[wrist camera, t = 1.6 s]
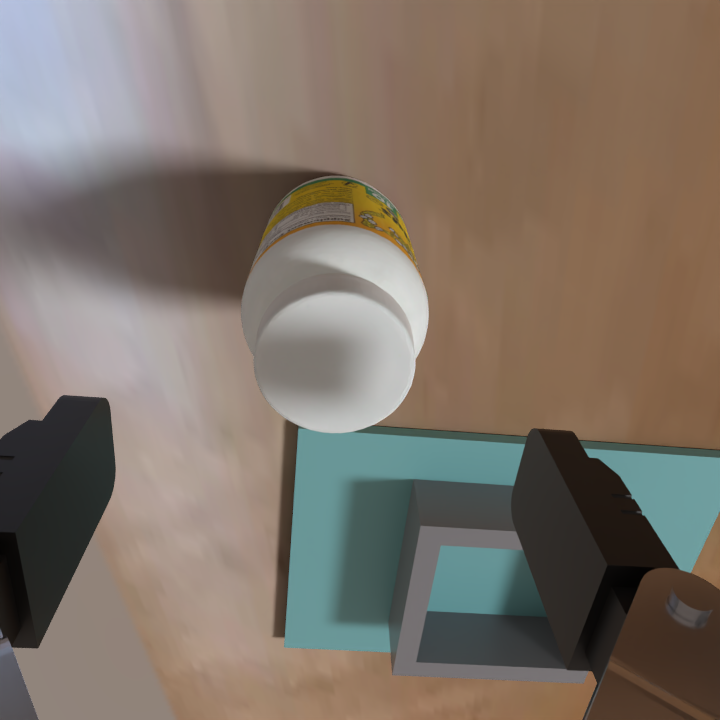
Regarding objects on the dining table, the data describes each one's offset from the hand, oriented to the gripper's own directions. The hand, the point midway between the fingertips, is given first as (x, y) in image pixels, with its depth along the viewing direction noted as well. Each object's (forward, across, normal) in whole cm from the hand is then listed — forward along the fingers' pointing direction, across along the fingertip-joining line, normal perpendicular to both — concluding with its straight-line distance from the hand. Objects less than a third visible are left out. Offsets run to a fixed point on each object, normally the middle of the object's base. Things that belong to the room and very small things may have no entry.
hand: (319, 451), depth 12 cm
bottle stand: (+13, -9, +15) cm, 22 cm away
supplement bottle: (+13, 0, 0) cm, 13 cm away
